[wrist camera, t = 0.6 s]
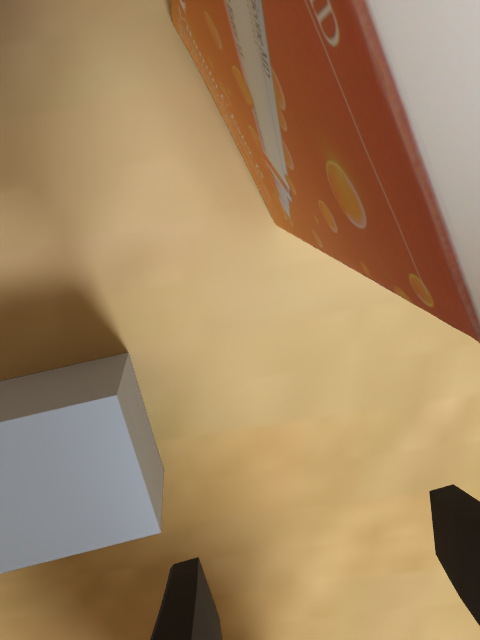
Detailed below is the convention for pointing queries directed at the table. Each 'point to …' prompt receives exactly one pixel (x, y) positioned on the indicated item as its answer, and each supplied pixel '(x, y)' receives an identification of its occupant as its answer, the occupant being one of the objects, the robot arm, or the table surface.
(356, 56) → the small box
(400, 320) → the table surface
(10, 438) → the slate block
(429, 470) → the table surface
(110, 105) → the table surface
